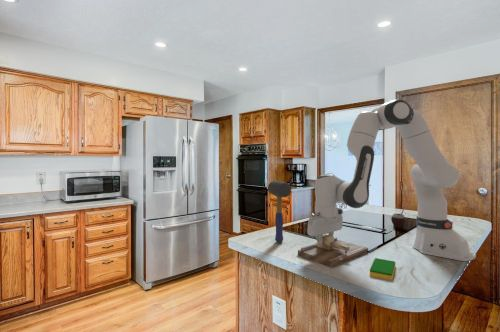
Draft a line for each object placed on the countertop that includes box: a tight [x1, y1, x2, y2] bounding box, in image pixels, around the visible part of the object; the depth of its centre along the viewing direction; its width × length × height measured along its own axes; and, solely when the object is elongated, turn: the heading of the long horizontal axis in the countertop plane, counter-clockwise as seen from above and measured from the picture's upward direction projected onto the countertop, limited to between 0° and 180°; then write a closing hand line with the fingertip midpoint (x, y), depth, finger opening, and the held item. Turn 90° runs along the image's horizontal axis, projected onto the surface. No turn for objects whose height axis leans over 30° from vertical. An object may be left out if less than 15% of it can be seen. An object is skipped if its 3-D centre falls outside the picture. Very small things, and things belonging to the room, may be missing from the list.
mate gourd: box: [390, 202, 410, 231], centre depth 162 cm, size 8×8×15 cm
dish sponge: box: [369, 257, 396, 281], centre depth 102 cm, size 7×14×2 cm, turn 148°
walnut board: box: [297, 237, 369, 268], centre depth 119 cm, size 18×26×3 cm
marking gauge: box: [316, 234, 349, 254], centre depth 118 cm, size 14×4×5 cm, turn 38°
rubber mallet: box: [267, 180, 292, 244], centre depth 135 cm, size 12×8×30 cm, turn 22°
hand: (325, 243), depth 121 cm, fingers closed on marking gauge, 4 cm apart
